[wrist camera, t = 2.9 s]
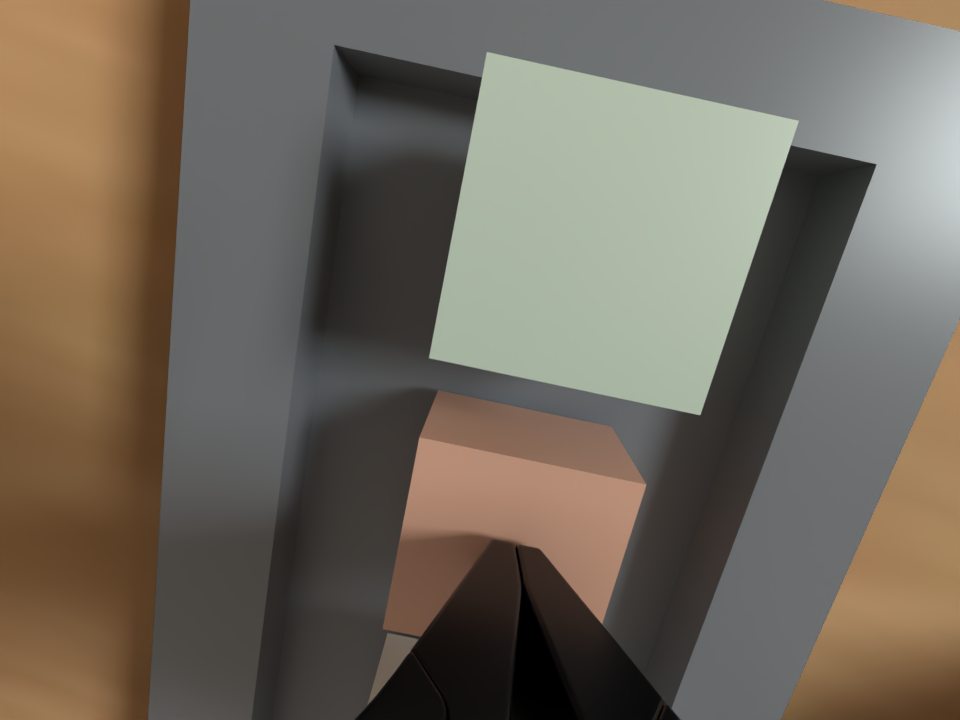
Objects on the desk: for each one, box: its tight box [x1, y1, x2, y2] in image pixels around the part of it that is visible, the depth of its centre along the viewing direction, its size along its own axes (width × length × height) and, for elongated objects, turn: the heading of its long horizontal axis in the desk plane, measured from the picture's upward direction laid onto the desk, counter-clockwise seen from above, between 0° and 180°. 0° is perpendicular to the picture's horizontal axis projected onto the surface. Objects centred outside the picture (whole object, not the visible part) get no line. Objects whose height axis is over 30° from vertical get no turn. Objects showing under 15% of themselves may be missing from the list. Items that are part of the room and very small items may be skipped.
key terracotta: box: [383, 390, 646, 637], centre depth 10 cm, size 4×4×3 cm
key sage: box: [429, 52, 799, 415], centre depth 8 cm, size 4×4×3 cm
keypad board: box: [148, 0, 960, 720], centre depth 12 cm, size 25×14×2 cm, turn 168°
